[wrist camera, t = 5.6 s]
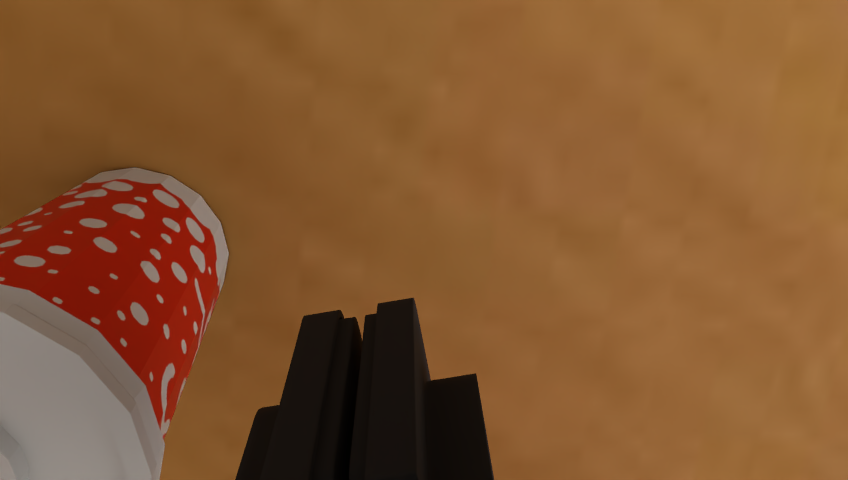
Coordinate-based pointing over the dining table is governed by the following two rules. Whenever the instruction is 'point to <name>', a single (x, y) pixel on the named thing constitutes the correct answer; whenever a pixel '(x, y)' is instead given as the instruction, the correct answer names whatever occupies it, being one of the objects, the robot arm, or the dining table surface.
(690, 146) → the dining table surface
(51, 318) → the beverage cup
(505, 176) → the dining table surface
